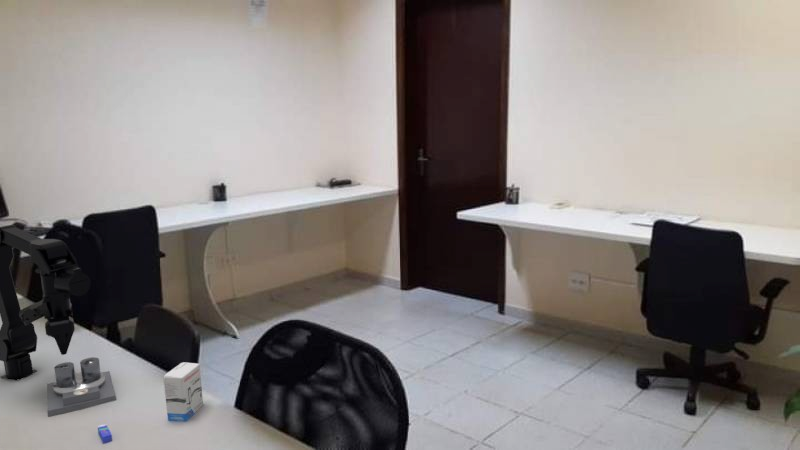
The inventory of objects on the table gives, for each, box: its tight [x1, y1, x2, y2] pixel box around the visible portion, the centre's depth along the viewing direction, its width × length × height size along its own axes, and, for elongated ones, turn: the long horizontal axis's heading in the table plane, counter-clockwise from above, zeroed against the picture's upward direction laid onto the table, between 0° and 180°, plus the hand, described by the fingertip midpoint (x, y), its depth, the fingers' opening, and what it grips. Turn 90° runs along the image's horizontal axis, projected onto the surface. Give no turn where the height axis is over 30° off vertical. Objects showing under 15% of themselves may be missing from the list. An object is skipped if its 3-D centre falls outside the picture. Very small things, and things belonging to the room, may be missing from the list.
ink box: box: [163, 361, 204, 423], centre depth 147 cm, size 9×5×12 cm, turn 168°
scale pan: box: [53, 371, 105, 395], centre depth 160 cm, size 12×12×1 cm
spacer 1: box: [54, 361, 76, 388], centre depth 158 cm, size 4×4×5 cm
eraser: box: [97, 423, 113, 444], centre depth 139 cm, size 2×6×2 cm, turn 35°
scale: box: [46, 370, 117, 417], centre depth 159 cm, size 17×15×4 cm
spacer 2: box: [79, 356, 102, 382], centre depth 161 cm, size 4×4×5 cm
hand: (63, 348), depth 160 cm, fingers open, 9 cm apart
